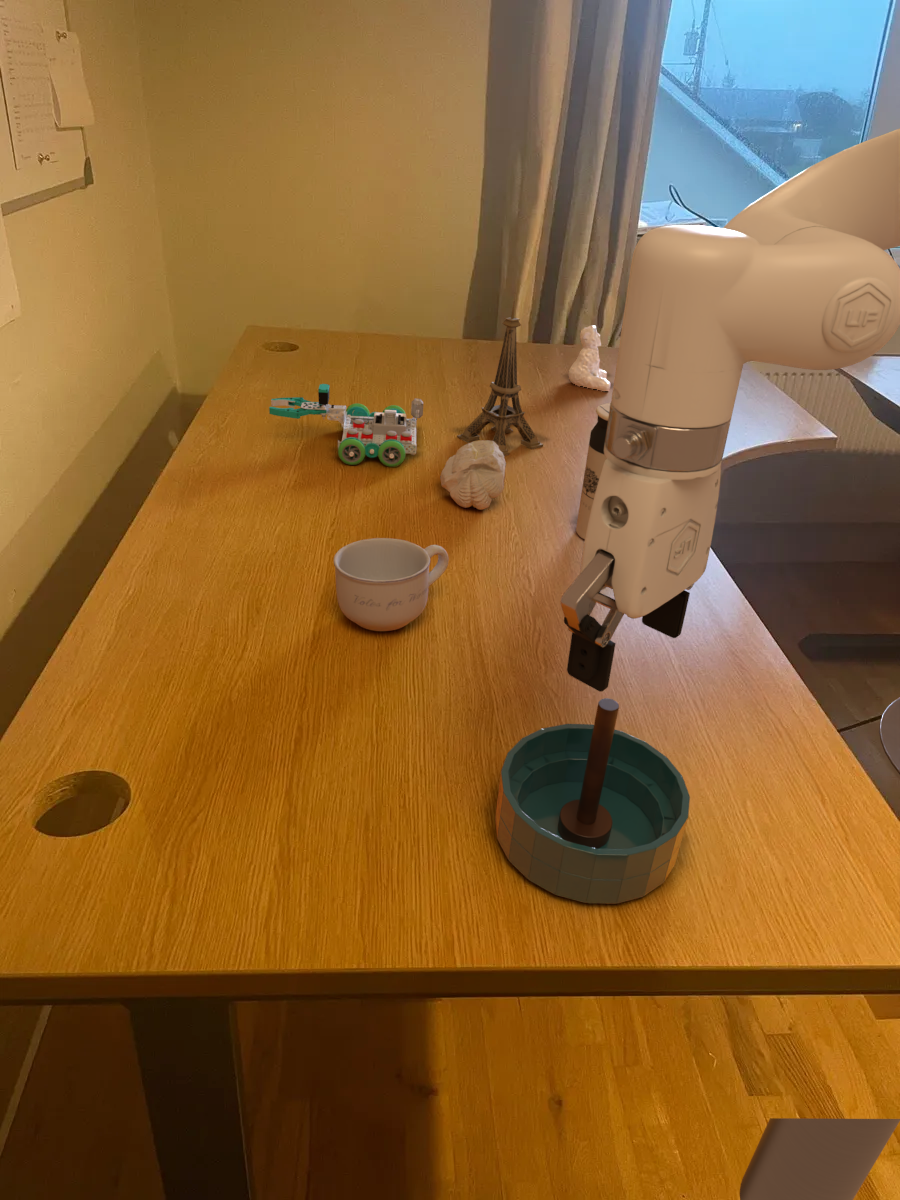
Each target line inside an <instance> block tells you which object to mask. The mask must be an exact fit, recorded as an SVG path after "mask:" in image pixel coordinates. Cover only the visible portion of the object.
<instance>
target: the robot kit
mask: <svg viewBox="0 0 900 1200" xmlns="http://www.w3.org/2000/svg"><path fill="white" fill-rule="evenodd" d="M317 392H318V394H317V396H318V401H310V400H307V399H304V397H302V396H298V397H297V396H294V397H293V396H292V397H276V398H271V400H270V401H271V402H270V404H271V405H270V406H269V407H268V412H269V413H268V414H269V415H272V416H277V417H283V418H290V419H297V420H299V419H301V417H304V416H309V415H313V416H314V415H315V416H316V415H319V416H321V418H322V420H325V418H326V419H327V420H328V421H338V422H339V424H340V425H341V428H342V431H343V432H342V437H341V441H340V440H339V439H337V455H338V458H339V459H340V461H341V462H343V463H344V464H346V465H347V466H357V465H359V464H360V463H362V462H363V461H364V459H365V457H368V458H370V459H375V458H377V457H378V460H379V462H380V463H381V464H382V465H384V466H385V467H389V468H396V467H398V466H400V465H402V464H403V462H404V461H405V459H406V454H410V455H411V456H415V455H416V454H417V449H418V448H417V446H418V445H417V444H418V443H417V421H418V419H420V418H422V417H423V416H424V401H423V400H422V399H421V398H414V399H413V400H411V407H410V409H411V410H410V416H411V417H412V418H407V414H406V411H405V410H404V409H403V408H402V407H401V406H400V405H395V404H391V405H388V406H386V407H385V408H384V409H383V410H382V412H379V411H372V412H370V409H368V407H367V406H365V405H364V404H362V403H360V402H359V403H358V402H356V403H352V404H350V405H349V406H348V407H347V406H346V404H345V405H339V404H337V405H335V404H329V401H330V384H328V383H320V384H319V385H318V390H317ZM279 406H283V407H279ZM284 406H285V407H284ZM296 407H299V408H296Z"/></svg>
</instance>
